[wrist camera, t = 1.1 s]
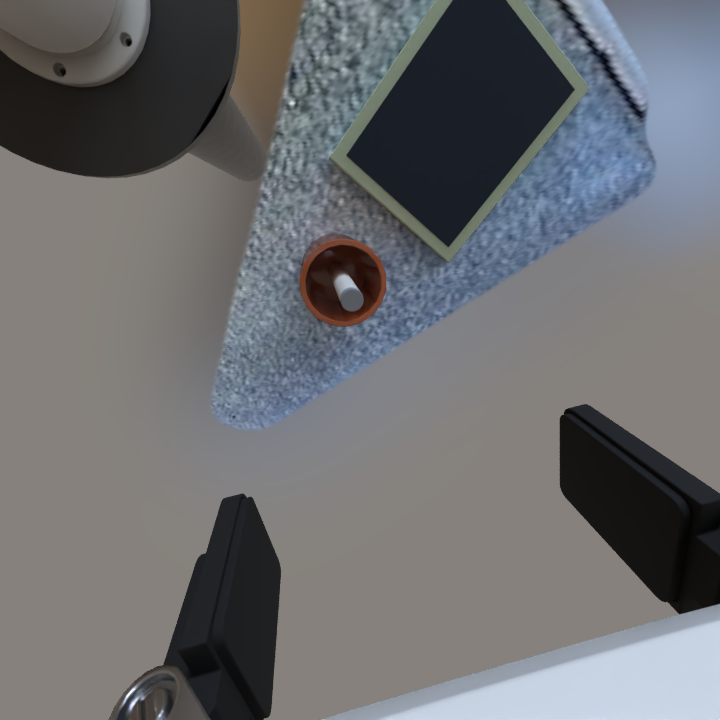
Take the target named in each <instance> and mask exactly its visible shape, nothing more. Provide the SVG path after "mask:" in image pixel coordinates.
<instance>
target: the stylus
mask: <svg viewBox="0 0 720 720" xmlns="http://www.w3.org/2000/svg"><path fill="white" fill-rule="evenodd" d="M329 274H330V276H331V279H332V282H333V284H334V287H335V289H336V292H337V294H338V297H339V300H340V302H341V305H342V307H343V308H344V309H345V310H347V311H351V312H353V311H357V310H358V309H360V308H361V306H362V305H363V301H364V299H363V295H362V293H361V292H360V291H359V289H358V288H357V286H356V285H355V283H354V282H353V280H352V279H351V278H350V276H349V275H348V273H347V272H346V270H345V269H344V268H343V266H342V265H341V264H339V263H333V264H332V265H331V266H330V267H329Z"/></svg>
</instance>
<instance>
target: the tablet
mask: <svg viewBox="0 0 720 720" xmlns="http://www.w3.org/2000/svg"><path fill="white" fill-rule="evenodd" d="M588 90H589V86H588V85H587V84H586V83H585V81H584V80H583V79H582V77H581V76H580V75H579V73H578V72H577V71H576V69H575V68H574V67H573V65H572V64H571V63H570V61H569V60H568V59H567V57H566V56H565V55H564V53H563V52H562V51H561V49H560V48H559V47H558V45H557V44H556V43H555V41H554V40H553V39H552V37H551V36H550V35H549V33H548V32H547V31H546V29H545V28H544V27H543V25H542V24H541V23H540V21H539V20H538V19H537V18H536V16H535V15H534V14H533V12H532V11H531V10H530V8H529V7H528V6H527V4H526V3H525V2H524V0H435V2H434V3H433V5H432V6H431V8H430V9H429V11H428V12H427V14H426V15H425V17H424V18H423V19H422V21H421V22H420V24H419V25H418V27H417V28H416V30H415V31H414V33H413V34H412V36H411V37H410V39H409V40H408V42H407V43H406V45H405V46H404V48H403V49H402V51H401V52H400V53H399V55H398V56H397V58H396V59H395V61H394V62H393V64H392V65H391V67H390V68H389V70H388V71H387V73H386V74H385V76H384V77H383V79H382V80H381V82H380V83H379V85H378V86H377V87H376V89H375V90H374V92H373V93H372V95H371V96H370V98H369V99H368V101H367V102H366V104H365V105H364V107H363V108H362V110H361V111H360V113H359V114H358V116H357V117H356V119H355V120H354V122H353V123H352V124H351V126H350V127H349V129H348V130H347V132H346V133H345V135H344V136H343V138H342V139H341V141H340V142H339V144H338V145H337V147H336V148H335V150H334V151H333V153H332V154H331V156H330V157H329V160H330V161H331V162H333V163H334V164H335V165H336V166H337V167H338V168H339V169H341V170H342V171H343V172H344V173H345V174H346V175H347V176H349V177H350V178H351V179H352V180H353V181H354V182H355V183H357V184H358V185H359V186H360V187H361V188H362V189H363V190H364V191H366V192H367V193H368V194H369V195H370V196H371V197H372V198H374V199H375V200H376V201H377V202H378V203H379V204H380V205H382V206H383V207H384V208H385V209H386V210H387V211H388V212H389V213H391V214H392V215H393V216H394V217H395V218H396V219H397V220H399V221H400V222H401V223H402V224H403V225H404V226H405V227H407V228H408V229H409V230H410V231H411V232H412V233H413V234H415V235H416V236H417V237H418V238H419V239H420V240H421V241H422V242H424V243H425V244H426V245H427V246H428V247H429V248H430V249H432V250H433V251H434V252H435V253H436V254H437V255H438V256H440V257H441V258H442V259H443V260H444V261H446V262H450V260H451V259H452V258H453V257H454V256H455V254H456V253H457V252H458V251H459V249H460V248H461V247H462V246H463V244H464V243H465V242H466V241H467V239H468V238H469V237H470V236H471V235H472V233H473V232H474V231H475V230H476V228H477V227H478V226H479V225H480V223H481V222H482V221H483V220H484V218H485V217H486V216H487V215H488V213H489V212H490V211H491V210H492V209H493V207H494V206H495V205H496V204H497V202H498V201H499V200H500V199H501V197H502V196H503V195H504V194H505V192H506V191H507V190H508V189H509V187H510V186H511V185H512V184H513V183H514V181H515V180H516V179H517V178H518V176H519V175H520V174H521V173H522V171H523V170H524V169H525V168H526V166H527V165H528V164H529V163H530V162H531V160H532V159H533V158H534V157H535V155H536V154H537V153H538V152H539V150H540V149H541V148H542V147H543V145H544V144H545V143H546V142H547V140H548V139H549V138H550V137H551V136H552V134H553V133H554V132H555V131H556V129H557V128H558V127H559V126H560V124H561V123H562V122H563V121H564V119H565V118H566V117H567V116H568V114H569V113H570V112H571V111H572V110H573V108H574V107H575V106H576V105H577V103H578V102H579V101H580V100H581V98H582V97H583V96H584V95H585V93H586V92H587V91H588Z"/></svg>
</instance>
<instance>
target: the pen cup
mask: <svg viewBox="0 0 720 720" xmlns="http://www.w3.org/2000/svg"><path fill="white" fill-rule="evenodd" d="M333 263H339V264H341V265H342V266H343V268H344V269H345V270H346V272H347V273H348V275H349V276H350V278H351V279H352V280H353V282H354V283H355V285H356V286H357V288H358V289H359V291H360V292H361V293H362V295H363V299H364V301H363V305H362V306H361V308H360V309H358V310H357V311H353V312H351V311H347V310H345V309H344V308H343V307H342V305H341V302H340V300H339V297H338V294H337V292H336V289H335V287H334V284H333V282H332V279H331V276H330V274H329V267H330V266H331V265H332V264H333ZM300 290H301V296H302V298H303V300H304V302H305V304H306V306H307V308H308V309H309V310H310V311H311V312H312V313H313V314H314V315H315V316H316V317H317V318H318V319H319V320H321V321H323V322H326V323H328V324H330V325H334V326H344V327H347V326H351V325H355V324H359V323H361V322H363V321H364V320H366V319H367V318H369V317H370V316H372V315H373V314H374V312H375V311H376V310H377V309H378V307H379V306H380V305H381V303H382V300H383V297H384V295H385V292H386V273H385V270H384V267H383V265H382V262H381V260H380V259H379V257H378V256H377V255H376V254H375V253H374V252H373V250H372V249H371V248H369V247H367V246H366V245H364V244H362V243H360V242H358V241H357V240H355V239H353V238H351V237H349V236H347V235H341V234H329V235H325V236H322V237H320V238H318V239H317V240H315V241H314V242H313V243H312V244H311V245H310V246H309V247H308V249H307V250H306V252H305V253H304V256H303V260H302V264H301V271H300Z"/></svg>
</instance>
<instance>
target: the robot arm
mask: <svg viewBox="0 0 720 720" xmlns="http://www.w3.org/2000/svg"><path fill="white" fill-rule="evenodd" d="M150 16H151V12H150V0H0V50H1V51H2V52H3V53H5V54H6V55H7V56H8V57H9V58H10V59H12V60H13V61H15V62H16V63H18V64H19V65H21V66H22V67H24V68H26V69H27V70H29V71H30V72H32V73H34V74H36V75H38V76H40V77H43V78H45V79H47V80H50V81H53V82H56V83H59V84H62V85H66V86H73V87H95V86H99V85H103V84H106V83H109V82H112V81H113V80H115V79H117V78H118V77H120V76H122V75H123V74H124V73H125V72H126V71H127V70H128V69H129V68H130V67H131V66H132V65H133V64H134V63H135V62H136V60H137V58H138V57H139V55H140V53H141V52H142V50H143V47H144V44H145V41H146V38H147V35H148V31H149V23H150ZM129 41H132V45H131V46H130V47H128V42H129ZM65 70H66V74H65V75H64V74H63V72H64V71H65ZM560 488H561V490H562V493H563V495H564V496H565V497H566V498H567V500H568V501H569V502H570V503H571V504H572V505H573V506H574V507H575V508H576V509H577V511H578V512H579V513H580V514H581V515H582V516H583V517H584V518H585V519H586V520H587V521H588V522H589V524H590V525H591V526H592V527H593V528H594V529H595V530H596V531H597V532H598V533H599V535H600V536H601V537H602V538H603V539H604V540H605V541H606V542H607V543H608V544H609V545H610V546H611V547H612V549H613V550H614V551H615V552H616V553H617V554H618V555H619V556H620V558H621V559H622V560H623V561H624V562H625V563H626V564H627V565H628V566H629V567H630V568H631V570H632V571H633V572H634V573H635V574H636V575H637V576H638V577H639V578H640V579H641V580H642V582H643V583H644V584H645V585H646V586H647V587H648V588H649V589H650V590H651V591H652V592H653V594H654V595H655V596H656V597H657V598H658V599H660V600H661V601H663V602H668V603H669V604H670V605H671V606H672V607H673V608H674V609H675V610H676V611H677V612H678V613H679V615H676V616H672V617H668V618H665V619H661V620H658V621H654V622H651V623H647V624H644V625H640V626H637V627H633V628H630V629H626V630H623V631H619V632H616V633H612V634H609V635H605V636H602V637H598V638H595V639H591V640H588V641H584V642H581V643H577V644H574V645H570V646H567V647H563V648H560V649H556V650H553V651H549V652H546V653H542V654H539V655H536V656H532V657H529V658H525V659H522V660H519V661H515V662H512V663H508V664H505V665H501V666H498V667H495V668H491V669H488V670H484V671H481V672H478V673H474V674H470V675H467V676H464V677H460V678H457V679H453V680H450V681H447V682H443V683H440V684H437V685H433V686H430V687H427V688H423V689H420V690H417V691H413V692H410V693H406V694H403V695H400V696H396V697H393V698H390V699H386V700H383V701H380V702H376V703H373V704H370V705H366V706H363V707H359V708H356V709H353V710H349V711H347V712H343V713H340V714H337V715H334V716H331V717H328V718H324V719H321V720H720V493H718V492H717V491H715V490H714V489H712V488H711V487H709V486H708V485H706V484H705V483H703V482H702V481H701V480H699V479H698V478H696V477H695V476H693V475H691V474H690V473H688V472H687V471H686V470H684V469H683V468H681V467H680V466H678V465H677V464H675V463H674V462H672V461H671V460H669V459H668V458H666V457H665V456H663V455H662V454H661V453H659V452H657V451H656V450H655V449H653V448H652V447H650V446H649V445H647V444H646V443H644V442H643V441H641V440H640V439H638V438H637V437H635V436H634V435H632V434H631V433H629V432H628V431H626V430H624V429H623V428H622V427H621V426H619V425H618V424H616V423H614V422H613V421H612V420H610V419H609V418H607V417H606V416H604V415H603V414H601V413H600V412H598V411H597V410H595V409H594V408H592V407H591V406H589V405H587V404H584V405H580V406H576V407H572V408H568V409H566V410H565V412H564V415H562V416H561V417H560ZM280 579H281V568H280V563H279V560H278V557H277V555H276V553H275V550H274V548H273V546H272V543H271V541H270V538H269V536H268V533H267V531H266V529H265V526H264V524H263V521H262V519H261V517H260V514H259V512H258V509H257V507H256V505H255V502H254V500H253V498H252V497H248V498H247V497H246V496H245V495H244V494H239V495H235V496H231V497H227V498H224V499H223V500H222V502H221V505H220V508H219V511H218V515H217V518H216V521H215V525H214V528H213V532H212V535H211V538H210V542H209V545H208V548H207V552H206V554H202V555H201V556H200V557H199V558H198V559H197V562H196V564H195V567H194V570H193V574H192V577H191V580H190V583H189V586H188V589H187V593H186V596H185V599H184V602H183V605H182V608H181V612H180V614H179V618H178V621H177V624H176V627H175V630H174V634H173V637H172V640H171V643H170V646H169V649H168V653H167V655H166V658H165V662H164V665H162V666H157V667H155V668H153V669H151V670H149V671H147V672H146V673H144V674H143V675H142V676H141V677H139V678H138V679H137V680H135V681H134V682H133V683H132V684H131V686H130V687H129V688H128V689H127V690H126V691H125V692H124V693H123V695H122V696H121V698H120V699H119V701H118V702H117V704H116V705H115V707H114V709H113V711H112V713H111V716H110V718H109V720H263V719H264V718H267V717H269V716H270V712H271V705H272V691H273V677H274V663H275V649H276V635H277V620H278V607H279V594H280Z"/></svg>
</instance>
